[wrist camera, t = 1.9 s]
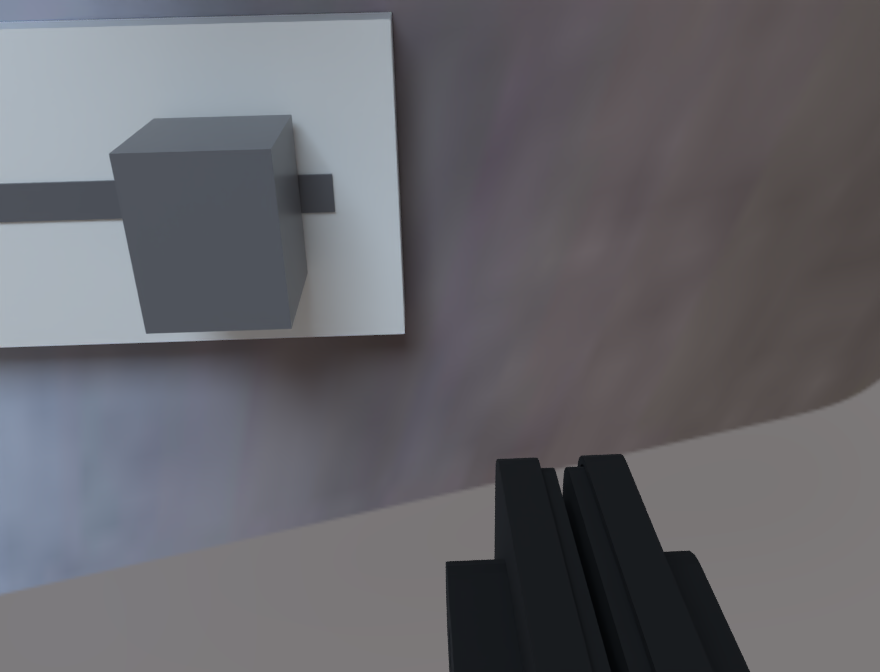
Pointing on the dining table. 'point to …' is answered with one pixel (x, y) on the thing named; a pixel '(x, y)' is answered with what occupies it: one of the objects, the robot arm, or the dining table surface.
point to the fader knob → (213, 222)
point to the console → (182, 96)
